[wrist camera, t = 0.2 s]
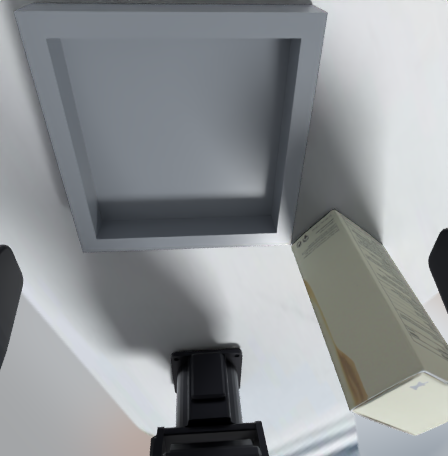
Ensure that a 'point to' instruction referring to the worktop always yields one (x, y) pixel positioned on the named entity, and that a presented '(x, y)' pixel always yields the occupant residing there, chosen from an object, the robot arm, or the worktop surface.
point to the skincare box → (374, 328)
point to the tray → (176, 117)
